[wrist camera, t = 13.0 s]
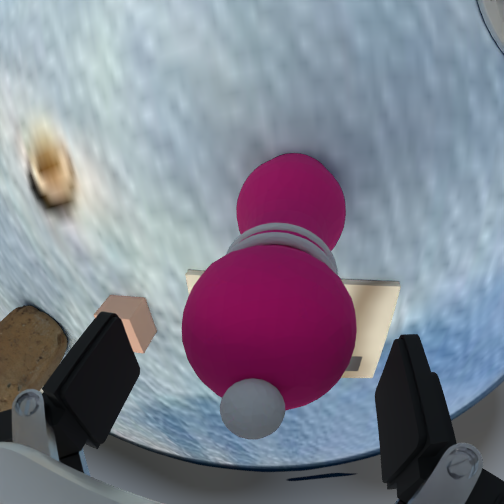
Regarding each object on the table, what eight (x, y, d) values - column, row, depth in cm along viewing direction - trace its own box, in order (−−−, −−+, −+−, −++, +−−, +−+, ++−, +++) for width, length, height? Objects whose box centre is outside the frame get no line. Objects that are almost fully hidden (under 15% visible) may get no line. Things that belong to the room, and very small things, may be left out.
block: (73, 332, 40) (1, 430, 22) (69, 354, 43) (9, 442, 26) (23, 291, 38) (-54, 374, 21) (24, 318, 42) (-41, 394, 25)
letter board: (398, 281, 26) (400, 286, 26) (371, 372, 32) (372, 378, 32) (188, 269, 30) (185, 274, 29) (205, 360, 36) (203, 365, 35)
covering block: (145, 296, 33) (129, 319, 29) (157, 330, 35) (143, 353, 32) (110, 294, 34) (93, 314, 30) (123, 326, 36) (109, 347, 33)
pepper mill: (339, 232, 25) (361, 481, 8) (254, 232, 27) (163, 460, 9) (339, 145, 22) (430, 339, 4) (245, 148, 23) (71, 319, 6)
